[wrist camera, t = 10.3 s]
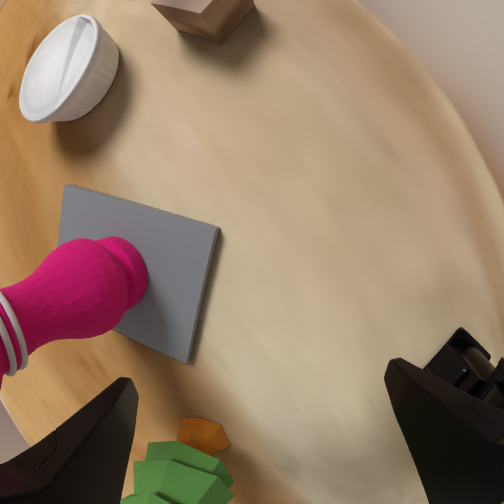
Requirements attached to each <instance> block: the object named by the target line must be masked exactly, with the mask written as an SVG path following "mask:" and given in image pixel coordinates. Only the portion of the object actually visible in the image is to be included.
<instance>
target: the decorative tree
mask: <svg viewBox="0 0 504 504" xmlns="http://www.w3.org/2000/svg"><path fill="white" fill-rule="evenodd" d="M229 446H231V444H230V442H229V440H228V438H227V436H226V434H225V432H224V430H223V428H222V426H221V425H220V424H217V423H214V422H211V421H208V420H205V419H202V418H182V419H181V423H180V426H179V429H178V432H177V440H176V441H170V442H152V443H148V447H147V454H146V460H145V461H134V494H131V495H129V496H127V497H125V498H123V499H121V501H120V504H227V503H228V502H229V501H230V500H231V499H232V498H233V497H234V495H233V494H232V493H231V492H230V491H229V489H228V488H229V487H230V486H231V485H232V483H233V482H234V481H233V479H232V478H231V476H230V475H229V473H228V472H227V470H226V468H225V467H224V465H223V464H222V462H221V460H219V459H217V458H215V457H212V456H211V455H212V454H214V453H216V452H218V451H220V450H222V449H224V448H226V447H229Z"/></svg>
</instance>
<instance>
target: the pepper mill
mask: <svg viewBox="0 0 504 504" xmlns="http://www.w3.org/2000/svg"><path fill="white" fill-rule="evenodd" d="M146 288H147V272H146V267H145V264H144V262H143V259H142V257H141V255H140V254H139V252H138V251H137V250H136V248H135V247H134V246H133V245H132V244H131V243H129V242H128V241H127V240H125V239H123V238H120V237H115V236H111V237H106V238H102V239H99V240H96V241H94V240H92V239H87V238H77V239H73V240H71V241H68V242H66V243H64V244H61V245H60V246H59V247H58V248H56V249H55V250H54V251H52V252H51V253H50V254H49V255H48V256H47V257H46V259H45V260H44V261H43V262H42V263H41V264H40V266H39V267H38V268H37V269H36V270H35V271H34V272H33V274H31V275H30V276H29V277H27V278H26V279H25V280H23V281H21V282H19V283H17V284H15V285H12V286H9V287H6V288H2V289H0V389H1V384H2V378H3V375H4V374H5V375H7V376H14V375H15V374H16V371H17V370H19V369H24V368H25V367H26V366H27V363H28V356H29V355H30V354H31V353H32V352H33V351H35V350H36V349H37V348H38V347H40V346H42V345H44V344H46V343H48V342H51V341H54V340H59V339H83V338H91V337H95V336H98V335H102V334H104V333H106V332H107V331H109V330H111V329H113V328H114V327H115V326H116V325H117V324H118V323H119V322H120V321H121V319H122V317H123V315H124V313H125V312H126V311H127V310H129V309H130V308H132V307H133V306H135V305H136V304H137V303H139V302H140V300H141V299H142V298H143V296H144V294H145V292H146Z"/></svg>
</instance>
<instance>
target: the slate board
mask: <svg viewBox="0 0 504 504" xmlns="http://www.w3.org/2000/svg"><path fill="white" fill-rule="evenodd" d="M219 229H220V227H217V226H214V225H210V224H207V223H204V222H200V221H197V220H194V219H190V218H187V217H184V216H180V215H177V214H173V213H170V212H167V211H163V210H160V209H156V208H153V207H149V206H146V205H142V204H139V203H136V202H132V201H129V200H125V199H122V198H118V197H115V196H111V195H107V194H104V193H100V192H97V191H93V190H90V189H86V188H83V187H79V186H75V185H65V187H64V194H63V201H62V209H61V218H60V230H59V244H58V247H59V246H60V245H61V244H64V243H66V242H68V241H71V240H73V239H77V238H87V239H92V240H94V241H96V240H99V239H102V238H106V237H111V236H115V237H120V238H123V239H125V240H127V241H128V242H129V243H131V244H132V245H133V246H134V247H135V248H136V250H137V251H138V252H139V254H140V255H141V257H142V259H143V262H144V264H145V267H146V272H147V288H146V292H145V294H144V296H143V298H142V299H141V300H140V302H139V303H137V304H136V305H135V306H133V307H132V308H130V309H129V310H127V311H126V312H125V313H124V315H123V317H122V319H121V321H120V322H119V323H118V324H117V325H116V326H115V327H114V328H113V330H115V331H117V332H119V333H121V334H123V335H125V336H127V337H129V338H131V339H133V340H135V341H137V342H139V343H141V344H143V345H145V346H147V347H150V348H152V349H154V350H156V351H158V352H161V353H163V354H165V355H167V356H170V357H172V358H174V359H177V360H179V361H181V362H184V363H187V362H188V360H189V359H190V357H191V353H192V348H193V343H194V338H195V333H196V328H197V324H198V319H199V314H200V310H201V305H202V301H203V296H204V292H205V288H206V283H207V279H208V275H209V270H210V266H211V262H212V258H213V253H214V249H215V245H216V241H217V237H218V233H219Z"/></svg>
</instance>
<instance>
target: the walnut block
mask: <svg viewBox="0 0 504 504" xmlns="http://www.w3.org/2000/svg"><path fill="white" fill-rule="evenodd" d="M151 4H152V5H153V6H154V7H155V8H156V9H157V10H158V11H159V12H160V13H161V14H162V15H163V16H164V17H165V18H166V19H167V20H168V21H169V22H170V23H171V24H172V26H173V27H174V28H175V29H176V30H179V31H182V32H185V33H189V34H192V35H195V36H198V37H201V38H204V39H207V40H210V41H213V42H216V43H218V44H222V43H223V42H224V40H225V39H226V38H227V37H228V36H229V34H230V33H231V32H232V31H233V30H234V28H235V27H236V26H237V25H238V24H239V23H240V21H241V20H242V19H243V18H244V17H245V16H246V15H247V14H248V12H249V11H250V10H251V9H252V8H253V7H254V6H255V4H254V2H253V0H153V1H152V2H151Z"/></svg>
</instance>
